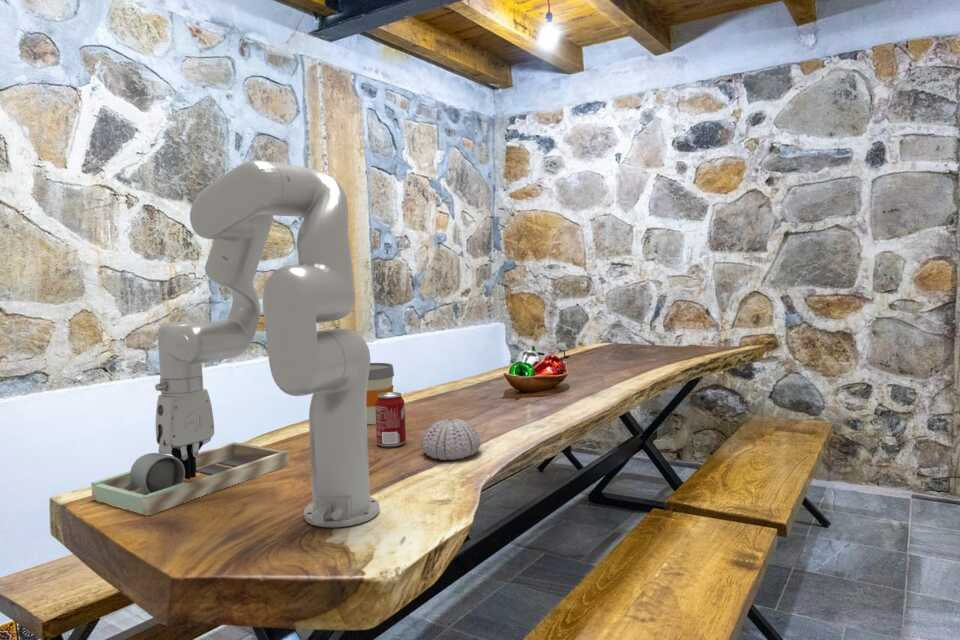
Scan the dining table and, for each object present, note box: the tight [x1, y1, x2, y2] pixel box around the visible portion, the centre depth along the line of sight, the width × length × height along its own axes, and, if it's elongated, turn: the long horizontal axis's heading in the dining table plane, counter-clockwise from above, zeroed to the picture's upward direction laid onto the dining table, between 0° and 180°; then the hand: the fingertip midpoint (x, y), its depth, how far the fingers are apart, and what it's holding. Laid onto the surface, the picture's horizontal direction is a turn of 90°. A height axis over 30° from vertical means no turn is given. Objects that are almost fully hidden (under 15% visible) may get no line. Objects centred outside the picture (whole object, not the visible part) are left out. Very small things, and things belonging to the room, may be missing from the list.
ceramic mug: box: [122, 452, 185, 495], centre depth 123 cm, size 11×8×8 cm
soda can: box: [375, 391, 407, 448], centre depth 154 cm, size 7×7×12 cm
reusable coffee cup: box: [366, 362, 395, 425], centre depth 179 cm, size 13×13×15 cm
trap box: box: [91, 441, 290, 515], centre depth 131 cm, size 32×17×3 cm, turn 149°
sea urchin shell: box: [420, 418, 482, 461], centre depth 146 cm, size 13×14×8 cm
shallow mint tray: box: [90, 470, 189, 514], centre depth 121 cm, size 8×17×3 cm, turn 59°
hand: (187, 477), depth 130 cm, fingers closed
